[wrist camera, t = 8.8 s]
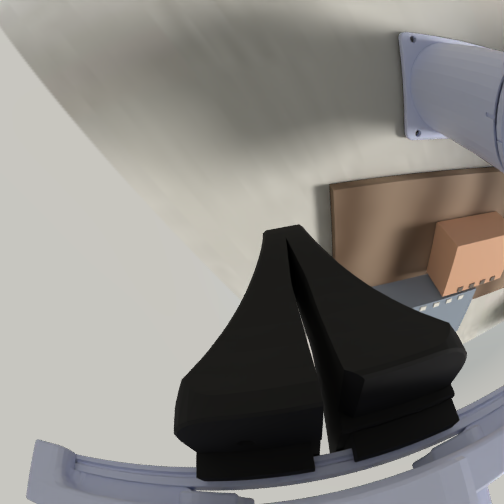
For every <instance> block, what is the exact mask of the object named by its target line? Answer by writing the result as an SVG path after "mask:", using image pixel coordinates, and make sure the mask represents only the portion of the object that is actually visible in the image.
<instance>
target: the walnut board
mask: <svg viewBox="0 0 504 504" xmlns="http://www.w3.org/2000/svg"><path fill="white" fill-rule="evenodd" d="M330 201H331V221H332V252H333V258H334V259H335V260H336V261H337V262H338V263H340V264H341V265H342V266H343V267H345V268H346V269H347V270H348V271H350V272H351V273H352V274H353V275H355V276H356V277H358V278H359V279H360V280H362V281H363V282H365V283H366V284H368V285H369V286H371V287H373V286H378V285H382V284H387V283H391V282H396V281H400V280H404V279H408V278H412V277H417V276H421V275H425V274H428V273H427V272H426V270H427V266H428V262H429V258H430V253H431V249H432V244H433V239H434V234H435V229H436V223H437V222H440V221H445V220H451V219H456V218H462V217H467V216H473V215H478V214H484V213H489V212H495V211H497V212H498V213H499V214H500V215H501V216H502V217H503V218H504V173H503V172H501V171H500V170H498V169H497V168H495V167H486V168H471V169H458V170H446V171H435V172H425V173H415V174H406V175H397V176H388V177H380V178H372V179H365V180H357V181H350V182H343V183H336V184H330ZM475 287H476V291H475V293H474V295H473V298H472V299H474V298H477V297H480V296H483V295H486V294H488V293H491V292H494V291H496V290H499V289H501V288H504V270H503V272H502V275H501V277H500V278H498V279H495V280H493V281H490V282H487V283H484V284H481V285H478V286H475Z"/></svg>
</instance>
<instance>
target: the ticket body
mask: <svg viewBox="0 0 504 504" xmlns="http://www.w3.org/2000/svg"><path fill="white" fill-rule="evenodd" d="M372 288H374V289H376V290H377V291H379V292H381V293H383V294H385V295H386V296H388V297H390V298H392V299H394V300H396V301H398V302H400V303H401V304H404V305H406V306H408V307H410V308H412V309H415V310H417V311H419V312H421V313H424V314H427V315H429V316H432V317H435V318H438V319H440V320H443V321H446V322H448V323H450V325H451V326H452V328H453V329H454V331H457V330H458V328H459V326H460V324H461V322H462V320H463V318H464V315H465V313H466V311H467V309H468V307H469V304H470V302H471V300H472V298H473V295H474V293H475V291H476V287H472V288H469V289H466V290H463V291H460V292H457V293H453V294H450V295H447V296H443V297H442V295H441V294H440V292H439V291H438V289H437V287H436V286H435V284H434V283H433V281H432V279H431V278H430V276H429V275H428V274H425V275H421V276H417V277H412V278H408V279H404V280H400V281H396V282H391V283H387V284H382V285H378V286H373V287H372Z"/></svg>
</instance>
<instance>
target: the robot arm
mask: <svg viewBox="0 0 504 504" xmlns="http://www.w3.org/2000/svg"><path fill="white" fill-rule="evenodd" d="M411 36H412V38H413V42H411V40H410V37H411ZM399 46H400V55H401V65H402V77H403V92H404V119H405V136H406V137H407V138H408V139H410V140H423V139H451V140H453V141H455V142H456V143H458V144H460V145H461V146H463V147H465V148H466V149H468V150H470V151H471V152H473V153H474V154H476V155H478V156H479V157H481V158H482V159H484V160H485V161H487V162H488V163H490V164H491V165H493V166H494V167H495V168H497V169H498V170H500V171H501V172H503V173H504V52H503V51H499V50H493V49H490V48H487V47H483V46H479V45H475V44H471V43H467V42H463V41H458V40H454V39H448V38H443V37H438V36H432V35H425V34H418V33H410V32H401V33H400V34H399ZM417 130H418V134H417V135H415V133H416V131H417ZM297 306H298V307H297ZM298 309H299V310H298ZM299 312H300V314H299ZM300 315H301V318H302V321H303V324H304V327H305V330H306V333H307V336H308V339H309V342H310V346H311V350H312V354H313V359H314V363H313V360H312V356H311V353H310V350H309V346H308V343H307V339H306V336H305V332H304V329H303V325H302V322H301V318H300ZM466 356H467V352H466V351H465V348H464V346H463V344H462V343H461V340H460V339H459V337H458V335H457V333H456V332H455V331H454V329H453V328H452V326H451V325H450V323H448V322H446V321H443V320H440V319H438V318H435V317H432V316H429V315H427V314H424V313H421V312H419V311H417V310H415V309H412V308H410V307H408V306H406V305H404V304H401V303H400V302H398V301H396V300H394V299H392V298H390V297H388V296H386V295H385V294H383V293H381V292H379V291H377V290H376V289H374V288H372V287H371V286H369V285H368V284H366V283H365V282H363V281H362V280H360V279H359V278H358V277H356V276H355V275H353V274H352V273H351V272H350V271H348V270H347V269H346V268H345V267H343V266H342V265H341V264H340V263H338V262H337V261H336V260H335V259H334V258H333V257H332V256H331V255H329V254H328V253H327V252H326V251H325V250H324V249H323V248H322V247H321V246H320V245H319V244H318V243H317V242H316V241H315V240H314V239H313V238H312V237H311V236H310V235H309V234H308V233H307V231H306V230H305V229H304V228H303V227H302V226H301V225H293V226H288V227H282V228H277V229H271V230H266V231H265V232H264V233H263V241H262V247H261V251H260V255H259V259H258V262H257V265H256V268H255V271H254V274H253V276H252V279H251V281H250V284H249V286H248V289H247V291H246V293H245V295H244V297H243V299H242V301H241V303H240V305H239V307H238V308H237V310H236V312H235V313H234V315H233V317H232V319H231V320H230V322H229V323H228V325H227V326H226V328H225V329H224V331H223V332H222V334H221V335H220V336H219V338H218V339H217V340H216V341H215V343H214V344H213V345H212V347H211V348H210V349H209V351H208V352H207V353H206V354H205V355H204V357H203V358H202V359H201V360H200V361H199V362H198V363H197V364H196V365H195V366H194V367H193V368H192V369H191V371H190V372H189V373H188V374H187V375H186V376H185V377H184V378H183V379H182V381H181V384H180V388H179V391H178V396H177V400H176V406H175V418H174V434H175V435H176V436H177V438H178V439H179V440H180V441H181V442H183V443H184V444H186V445H187V446H189V447H190V448H191V449H193V450H194V451H196V452H197V455H196V467H167V466H152V465H140V464H132V463H123V462H116V461H109V460H103V459H97V458H92V457H86V456H82V455H77V454H75V453H74V452H72V451H71V450H69V449H67V448H65V447H63V446H60V445H57V444H53V443H50V442H46V441H42V440H36V442H35V447H34V452H33V457H32V462H31V468H30V474H29V481H28V487H27V495H26V497H27V499H29V500H30V501H32V502H35V503H37V504H254V500H253V499H252V498H244V497H239V496H238V495H237V494H235V493H215V492H201V491H196V490H243V489H259V488H269V487H277V486H287V485H293V484H300V483H306V482H312V481H318V480H322V479H328V478H332V477H337V476H341V475H346V474H349V473H353V472H357V471H361V470H365V469H368V468H372V467H375V466H378V465H382V464H384V463H387V462H391V461H394V460H397V459H399V458H402V457H405V456H408V455H410V454H413V453H415V452H418V451H421V450H423V449H426V448H428V447H430V446H433V445H435V444H437V443H440V442H442V441H444V440H446V439H448V438H451V437H453V436H455V435H457V434H458V435H457V436H455V437H453V438H451V439H450V440H448V441H446V442H444V443H442V444H440V445H438V446H436V447H434V448H433V449H432V450H431V452H430V453H428V454H427V455H426V456H424V457H422V458H421V459H419V460H417V461H416V462H414V463H413V465H412V466H413V469H412V470H409V471H406V472H403V473H400V474H397V475H394V476H391V477H388V478H385V479H382V480H379V481H375V482H372V483H368V484H365V485H362V486H358V487H354V488H350V489H346V490H341V491H338V492H333V493H328V494H323V495H319V496H313V497H308V498H302V499H296V500H290V501H282V502H275V503H266V504H492V503H491V498H490V494H489V490H488V485H489V484H491V483H492V482H494V481H495V480H496V479H498V478H499V477H500V476H502V475H503V474H504V386H502V387H500V388H499V389H497V390H495V391H493V392H492V393H490V394H488V395H487V396H485V397H483V398H481V399H479V400H477V401H475V402H473V403H471V404H469V405H467V406H465V407H463V408H461V409H459V410H457V411H456V409H455V406H454V404H453V401H452V399H451V398H453V397H454V390H453V388H452V386H451V383H452V381H453V380H454V378H455V377H456V375H457V374H458V373H459V371H460V370H461V368H462V367H463V365H464V363H465V361H466ZM314 364H315V367H314ZM315 368H316V370H315ZM323 412H324V417H325V423H326V429H327V436H328V442H329V450H330V454H325V455H320V440H321V439H322V426H323Z"/></svg>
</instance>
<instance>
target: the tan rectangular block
mask: <svg viewBox="0 0 504 504" xmlns="http://www.w3.org/2000/svg"><path fill="white" fill-rule="evenodd" d="M503 270H504V218H503V217H502V216H501V215H500V214H499V213H498V212H497V211H495V212H489V213H484V214H478V215H473V216H467V217H462V218H456V219H451V220H445V221H440V222H437V223H436V229H435V234H434V239H433V244H432V249H431V253H430V258H429V262H428V266H427V270H426V272H427V273H428V275H429V276H430V278H431V279H432V281H433V283H434V284H435V286H436V287H437V289H438V291H439V292H440V294H441V295H442V297H443V296H447V295H450V294H453V293H457V292H460V291H463V290H466V289H469V288H472V287H475V286H478V285H481V284H484V283H487V282H490V281H493V280H495V279H498V278H500V277H501V275H502V272H503Z"/></svg>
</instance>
